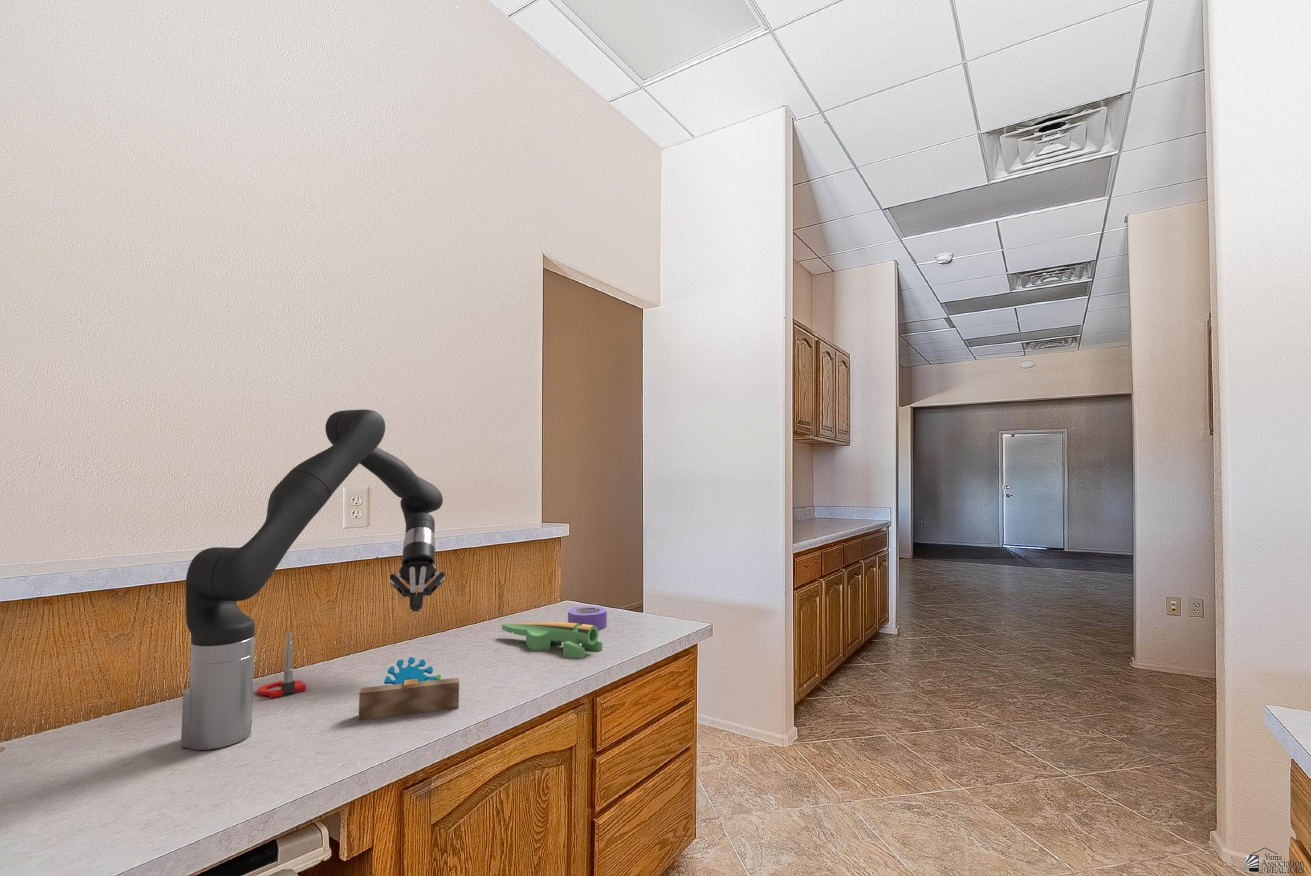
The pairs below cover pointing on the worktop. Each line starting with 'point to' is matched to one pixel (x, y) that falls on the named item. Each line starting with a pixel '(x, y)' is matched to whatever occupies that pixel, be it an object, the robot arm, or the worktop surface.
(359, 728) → the worktop surface
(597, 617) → the tape roll
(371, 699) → the rail
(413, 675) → the gear
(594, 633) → the green elongated piece
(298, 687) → the tow hook
